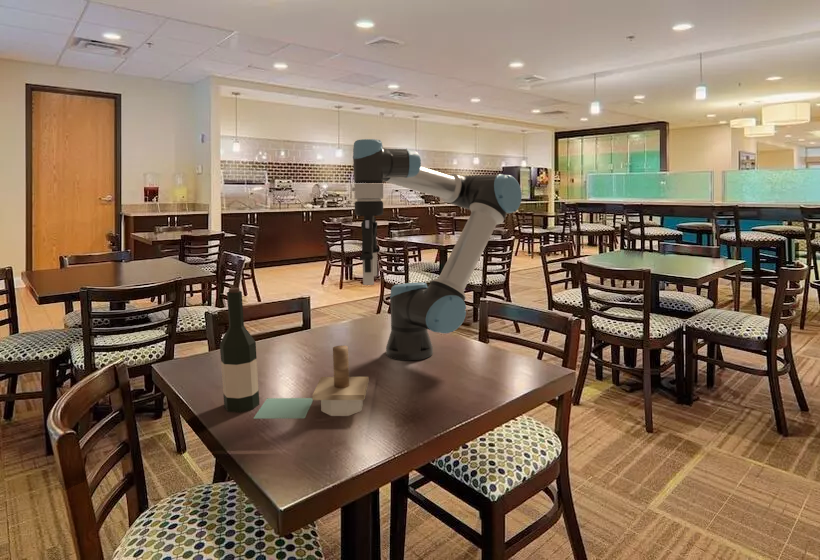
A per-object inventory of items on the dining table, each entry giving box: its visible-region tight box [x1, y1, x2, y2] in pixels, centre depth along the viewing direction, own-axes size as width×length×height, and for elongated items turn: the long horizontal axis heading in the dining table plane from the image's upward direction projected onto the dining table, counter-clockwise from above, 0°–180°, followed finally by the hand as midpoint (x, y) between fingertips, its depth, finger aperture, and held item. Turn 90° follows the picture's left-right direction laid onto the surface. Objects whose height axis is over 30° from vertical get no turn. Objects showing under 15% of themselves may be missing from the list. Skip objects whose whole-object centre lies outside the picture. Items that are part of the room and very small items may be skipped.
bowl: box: [320, 400, 364, 417], centre depth 130 cm, size 10×10×5 cm
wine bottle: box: [219, 287, 260, 414], centre depth 130 cm, size 8×8×30 cm
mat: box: [253, 397, 314, 420], centre depth 131 cm, size 12×12×1 cm
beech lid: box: [311, 345, 370, 401], centre depth 129 cm, size 12×12×11 cm
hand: (370, 280), depth 144 cm, fingers open, 13 cm apart
